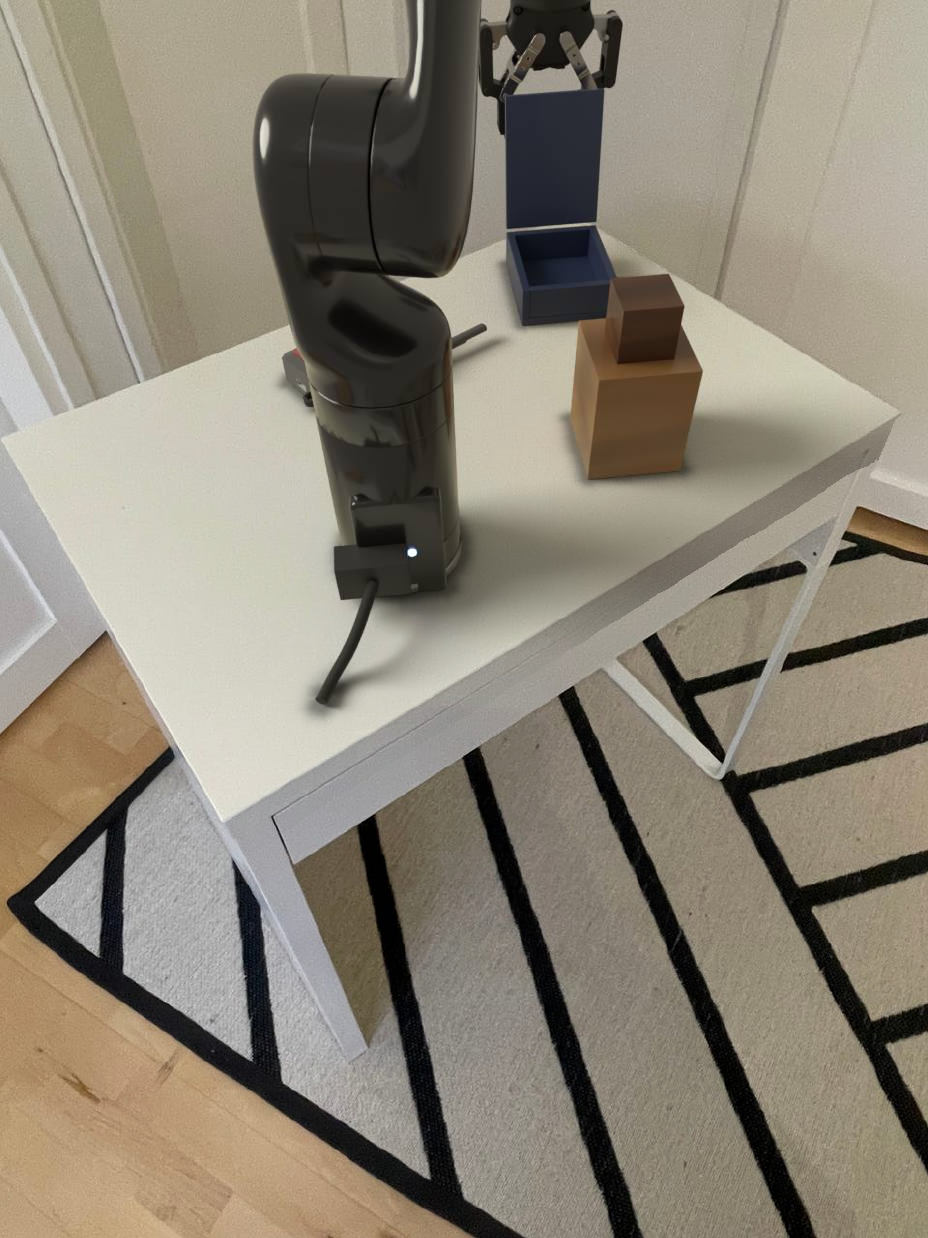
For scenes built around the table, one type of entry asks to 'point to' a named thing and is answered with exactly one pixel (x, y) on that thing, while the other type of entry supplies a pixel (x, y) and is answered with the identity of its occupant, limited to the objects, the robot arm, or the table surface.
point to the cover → (553, 157)
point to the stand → (631, 406)
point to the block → (643, 318)
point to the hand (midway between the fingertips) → (544, 134)
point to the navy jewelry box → (559, 274)
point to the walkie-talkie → (299, 376)
